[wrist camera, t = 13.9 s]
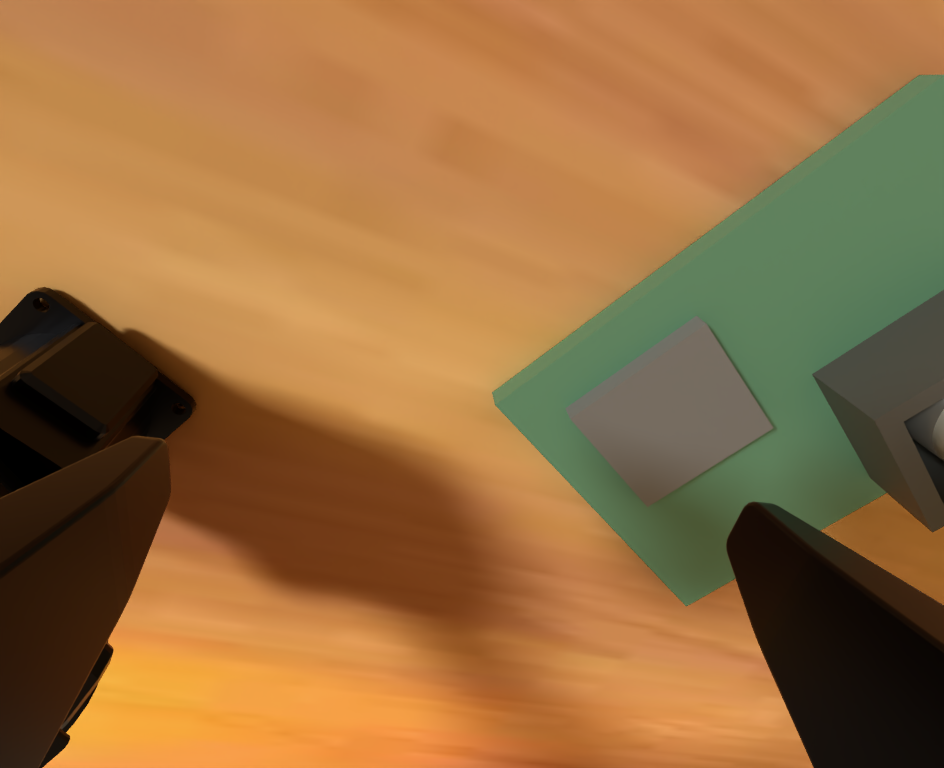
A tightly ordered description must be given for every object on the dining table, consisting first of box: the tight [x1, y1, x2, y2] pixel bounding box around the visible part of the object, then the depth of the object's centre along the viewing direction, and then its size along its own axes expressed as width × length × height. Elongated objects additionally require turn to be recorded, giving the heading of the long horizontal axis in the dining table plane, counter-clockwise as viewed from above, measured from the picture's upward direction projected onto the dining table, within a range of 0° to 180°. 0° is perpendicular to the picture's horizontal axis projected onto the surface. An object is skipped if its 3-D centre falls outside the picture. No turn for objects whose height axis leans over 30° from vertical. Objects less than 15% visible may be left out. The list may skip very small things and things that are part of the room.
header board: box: [492, 75, 944, 606], centre depth 22 cm, size 18×16×4 cm
